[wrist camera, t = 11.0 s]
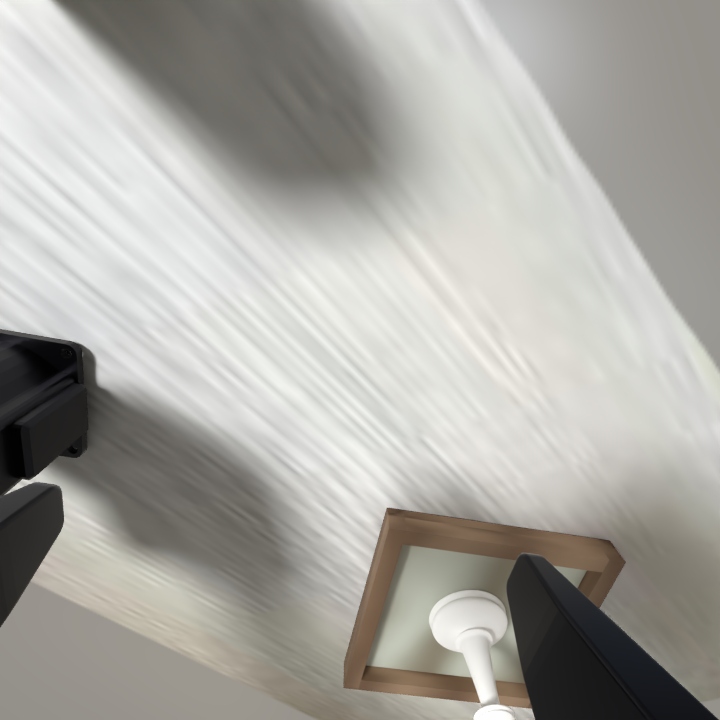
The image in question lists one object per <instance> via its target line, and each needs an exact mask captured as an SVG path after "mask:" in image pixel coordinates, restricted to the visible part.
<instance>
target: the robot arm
mask: <svg viewBox="0 0 720 720" xmlns="http://www.w3.org/2000/svg"><path fill="white" fill-rule="evenodd" d="M66 349H68V350H69V351H70V352H71V354H72V355H69V354H68V353H67V352H66ZM87 430H88V416H87V397H86V388H85V386H84V382H83V363H82V351H81V348H80V347H79V345H77V344H76V343H74V342H71V341H66V340H60V339H55V338H49V337H43V336H37V335H31V334H25V333H20V332H14V331H8V330H2V329H0V627H1V625H2V624H3V623H4V621H5V620H6V618H7V617H8V616H9V614H10V613H11V611H12V609H13V608H14V606H15V605H16V603H17V602H18V600H19V599H20V597H21V595H22V594H23V592H24V590H25V589H26V587H27V586H28V584H29V582H30V581H31V579H32V577H33V576H34V574H35V573H36V571H37V569H38V568H39V566H40V564H41V563H42V561H43V559H44V558H45V556H46V555H47V553H48V551H49V550H50V548H51V546H52V545H53V543H54V542H55V540H56V538H57V537H58V535H59V533H60V532H61V529H62V527H63V523H64V511H63V499H62V490H61V488H60V487H59V486H57V485H54V484H47V483H40V482H36V483H32V484H29V485H27V486H25V487H22V488H20V489H18V490H15V491H13V492H11V493H8V494H6V493H7V492H8V491H9V490H10V489H11V488H13V487H14V486H15V485H16V484H17V483H18V482H20V481H21V480H22V479H25V480H30V479H32V478H33V477H35V476H36V475H38V474H39V473H40V472H41V471H42V470H43V469H44V468H45V467H47V466H48V465H49V464H50V463H51V462H52V461H53V460H54V459H56V458H57V457H58V456H65V457H72V458H77V457H80V456H81V455H82V454H83V453H84V452H85V451H86V450H87V437H86V431H87ZM73 446H75V447H76V448H77V449H75V448H74V447H73ZM4 494H6V495H4ZM3 495H4V496H3ZM506 592H507V598H508V603H509V608H510V614H511V619H512V624H513V629H514V634H515V639H516V644H517V650H518V655H519V660H520V665H521V669H522V674H523V678H524V682H525V685H526V689H527V693H528V696H529V699H530V703H531V706H532V710H533V713H534V717H535V720H718V719H717V718H716V717H715V716H714V715H713V714H712V713H711V712H710V711H709V710H708V709H707V708H705V707H704V706H703V705H702V704H701V703H700V702H699V701H698V700H697V699H696V698H695V697H694V696H693V695H692V694H691V693H689V692H688V691H687V690H686V689H685V688H684V687H683V686H682V685H681V684H680V683H679V682H678V681H677V680H676V679H674V678H673V677H672V676H671V675H670V674H669V673H668V672H667V671H666V670H665V669H664V668H663V667H662V666H660V665H659V664H658V663H657V662H656V661H655V660H654V659H653V658H652V657H651V656H650V655H649V654H648V653H646V652H645V651H644V650H643V649H642V648H641V647H640V646H639V645H638V644H637V643H636V642H635V641H634V640H632V639H631V638H630V637H629V636H628V635H627V634H626V633H625V632H624V631H623V630H622V629H621V628H620V627H619V626H617V625H616V624H615V623H614V622H613V621H612V620H611V619H610V618H609V617H608V616H607V615H606V614H605V613H603V612H602V611H601V610H600V609H599V608H598V607H597V606H596V605H595V604H594V603H593V602H592V601H591V600H589V599H588V598H587V597H586V596H585V595H584V594H583V593H582V592H581V591H580V590H579V589H578V588H577V587H576V586H574V585H573V584H572V583H571V582H570V581H569V580H568V579H567V578H566V577H565V576H564V575H563V574H562V573H560V572H559V571H558V570H557V569H556V568H555V567H554V566H553V565H552V564H551V563H550V562H549V561H548V560H546V559H545V558H544V557H543V556H541V555H538V554H532V553H521V554H520V555H519V556H518V558H517V560H516V562H515V564H514V566H513V569H512V571H511V573H510V575H509V577H508V580H507V584H506Z"/></svg>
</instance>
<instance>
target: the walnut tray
mask: <svg viewBox="0 0 720 720" xmlns="http://www.w3.org/2000/svg"><path fill="white" fill-rule="evenodd" d="M521 553H532V554H538V555H541V556H543V557H544V558H545V559H546V560H548V561H549V562H550V563H551V564H552V565H553V566H554V567H555V568H556V569H557V570H558V571H559V572H560V573H562V574H563V575H564V576H565V577H566V578H567V579H568V580H569V581H570V582H571V583H572V584H573V585H574V586H576V587H577V588H578V589H579V590H580V591H581V592H582V593H583V594H584V595H585V596H586V597H587V598H588V599H589V600H591V601H592V602H593V603H594V604H595V605H596V606H597V607H598V608H600V606H601V604H602V602H603V601H604V599H605V597H606V595H607V594H608V592H609V590H610V589H611V587H612V585H613V583H614V582H615V580H616V578H617V576H618V575H619V573H620V571H621V569H622V568H623V566H624V564H625V563H626V562H625V561H624V559H623V558H622V557H621V555H620V554H619V553H618V551H617V550H616V548H615V547H614V546H613V544H612V543H611V542H610V541H608V540H601V539H595V538H588V537H581V536H574V535H568V534H561V533H554V532H547V531H541V530H534V529H527V528H520V527H514V526H507V525H500V524H493V523H486V522H480V521H473V520H466V519H459V518H453V517H446V516H439V515H432V514H426V513H419V512H412V511H405V510H399V509H392V508H387V509H386V513H385V517H384V520H383V524H382V528H381V531H380V535H379V538H378V542H377V546H376V549H375V553H374V556H373V560H372V564H371V567H370V571H369V575H368V578H367V582H366V585H365V589H364V593H363V596H362V600H361V604H360V607H359V611H358V614H357V618H356V622H355V625H354V629H353V632H352V636H351V640H350V643H349V647H348V651H347V654H346V658H345V661H344V688H349V689H358V690H367V691H376V692H385V693H394V694H404V695H413V696H422V697H431V698H440V699H449V700H458V701H467V702H477V703H480V700H479V697H478V694H477V691H476V688H475V685H474V682H473V679H472V677H471V674H470V671H469V668H468V666H467V663H466V660H465V658H464V655H463V653H461V652H455V651H452V650H449V649H447V648H445V647H443V646H442V645H440V644H439V643H438V642H437V641H436V639H435V638H434V636H433V633H432V629H431V627H430V624H429V615H430V612H431V610H432V608H433V607H434V605H435V604H436V603H437V602H438V601H439V600H441V599H442V598H444V597H445V596H447V595H449V594H451V593H454V592H457V591H462V590H481V591H485V592H488V593H490V594H493V595H494V596H496V597H497V598H498V599H499V600H500V601H501V602H502V603H503V605H504V607H505V610H506V616H507V620H508V625H507V629H506V632H505V634H504V635H503V637H502V638H501V639H500V640H499V641H498V642H497V643H496V644H494V645H493V646H491V647H490V654H491V660H492V666H493V672H494V677H495V683H496V688H497V693H498V698H499V703H500V704H501V705H505V706H513V707H522V708H531V709H532V706H531V703H530V699H529V696H528V693H527V689H526V685H525V682H524V678H523V674H522V669H521V665H520V660H519V655H518V650H517V644H516V639H515V634H514V629H513V624H512V619H511V614H510V608H509V603H508V598H507V592H506V584H507V580H508V577H509V575H510V573H511V571H512V569H513V566H514V564H515V562H516V560H517V558H518V556H519V555H520V554H521Z"/></svg>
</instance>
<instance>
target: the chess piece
mask: <svg viewBox="0 0 720 720" xmlns="http://www.w3.org/2000/svg"><path fill="white" fill-rule="evenodd" d="M429 624H430V627H431V629H432V633H433V636H434V638H435V639H436V641H437V642H438V643H439V644H440V645H442V646H443V647H445V648H447V649H449V650H452V651H455V652H461V653H463V655H464V658H465V660H466V663H467V666H468V668H469V671H470V674H471V677H472V679H473V682H474V685H475V688H476V691H477V694H478V697H479V700H480V703H481V706H482V708H481V709H479V710H478V711H477V712H476V713H475V715H474V718H473V720H515V714H514V712H513V710H512V709H511V708H509V707H508V706H505V705H501V704H500V703H499V698H498V693H497V688H496V683H495V677H494V672H493V666H492V660H491V654H490V647H491V646H493V645H494V644H496V643H497V642H498V641H499V640H500V639H501V638H502V637H503V635H504V634H505V632H506V629H507V625H508V620H507V616H506V610H505V607H504V605H503V603H502V602H501V601H500V600H499V599H498V598H497V597H496V596H494V595H493V594H490V593H488V592H485V591H481V590H462V591H457V592H454V593H451V594H449V595H447V596H445V597H444V598H442V599H441V600H439V601H438V602H437V603H436V604H435V605H434V607H433V608H432V610H431V612H430V615H429Z"/></svg>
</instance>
